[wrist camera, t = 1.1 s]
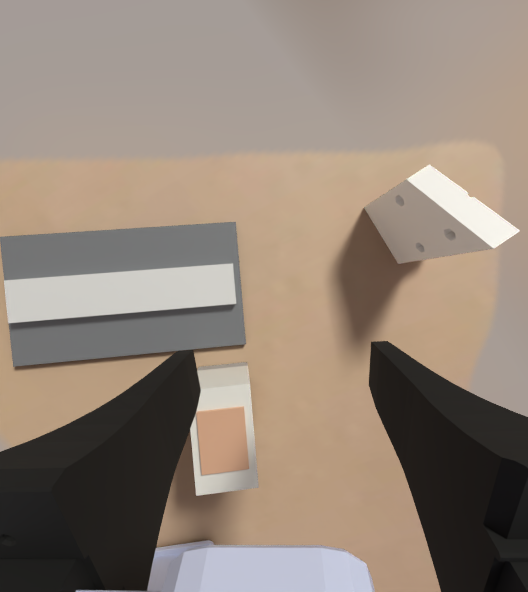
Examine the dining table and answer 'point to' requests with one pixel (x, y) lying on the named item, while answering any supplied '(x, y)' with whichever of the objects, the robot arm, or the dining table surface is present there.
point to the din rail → (122, 292)
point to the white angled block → (435, 219)
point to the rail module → (224, 431)
